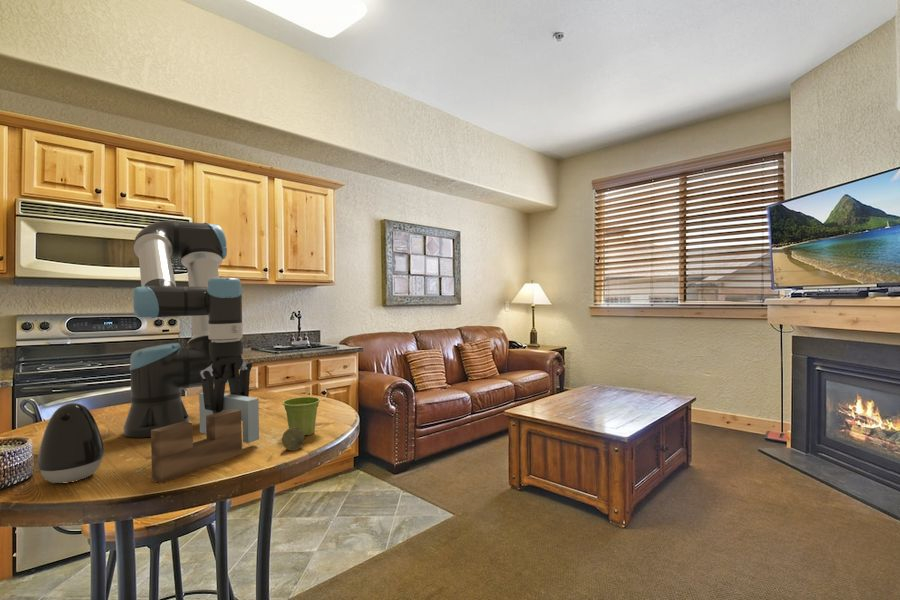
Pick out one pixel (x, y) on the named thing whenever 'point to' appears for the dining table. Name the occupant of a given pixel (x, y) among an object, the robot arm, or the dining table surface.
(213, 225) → the robot arm
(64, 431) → the black two-tone rounded device
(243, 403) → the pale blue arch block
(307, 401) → the plant pot
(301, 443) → the dark grey round lump
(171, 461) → the brown notched board
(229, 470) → the dining table surface
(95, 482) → the dining table surface
